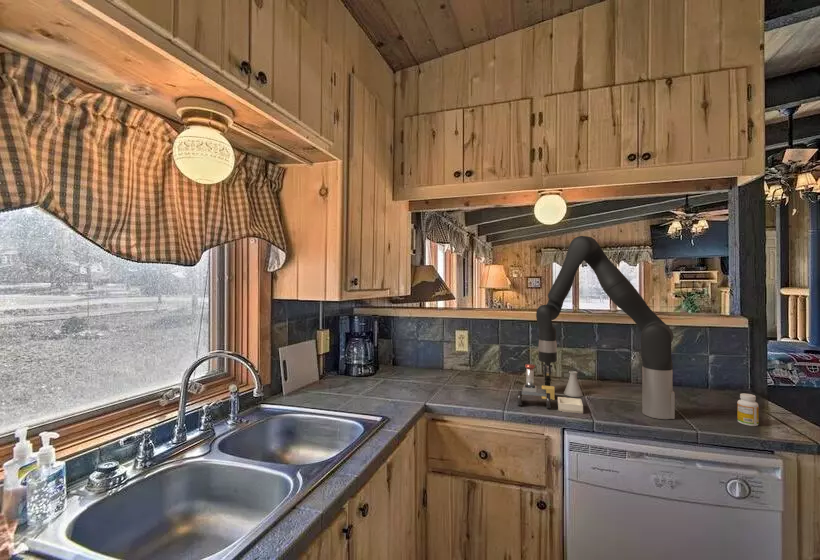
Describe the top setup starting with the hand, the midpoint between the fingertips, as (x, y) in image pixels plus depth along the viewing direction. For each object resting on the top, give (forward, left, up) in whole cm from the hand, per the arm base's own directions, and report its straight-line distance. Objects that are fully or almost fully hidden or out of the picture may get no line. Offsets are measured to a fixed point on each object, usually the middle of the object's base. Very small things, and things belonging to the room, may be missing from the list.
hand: (547, 389), depth 165 cm
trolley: (+5, +19, -1) cm, 20 cm away
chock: (0, +7, -1) cm, 7 cm away
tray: (-8, +19, -1) cm, 21 cm away
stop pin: (+7, +19, +5) cm, 21 cm away
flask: (-10, 0, -2) cm, 10 cm away
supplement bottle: (-64, +15, -1) cm, 66 cm away
